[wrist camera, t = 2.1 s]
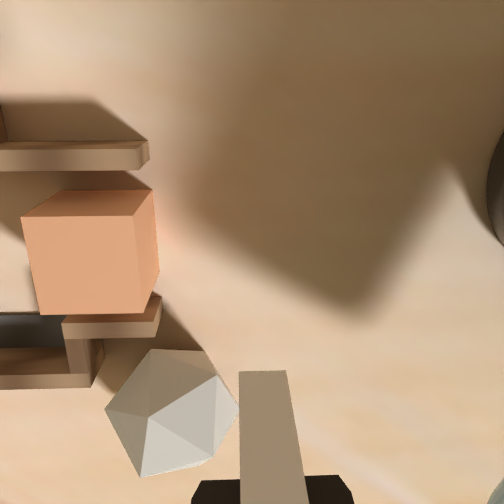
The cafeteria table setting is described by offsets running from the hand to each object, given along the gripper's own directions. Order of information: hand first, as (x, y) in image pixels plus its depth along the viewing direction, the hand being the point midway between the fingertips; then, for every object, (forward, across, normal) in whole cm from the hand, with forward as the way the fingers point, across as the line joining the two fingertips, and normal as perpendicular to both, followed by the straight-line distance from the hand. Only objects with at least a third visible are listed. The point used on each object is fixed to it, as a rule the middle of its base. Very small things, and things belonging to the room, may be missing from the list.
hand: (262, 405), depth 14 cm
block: (+18, +9, 0) cm, 20 cm away
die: (+18, +5, +12) cm, 22 cm away
